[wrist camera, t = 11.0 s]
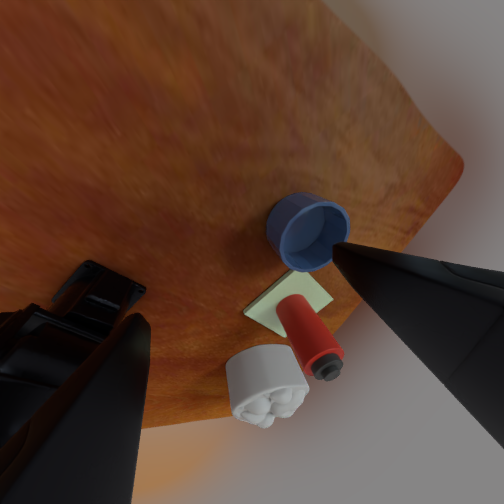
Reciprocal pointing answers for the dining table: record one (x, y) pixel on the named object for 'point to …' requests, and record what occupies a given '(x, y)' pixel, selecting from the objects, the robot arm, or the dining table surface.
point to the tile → (285, 286)
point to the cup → (306, 230)
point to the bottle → (310, 338)
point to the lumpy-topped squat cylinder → (265, 384)
